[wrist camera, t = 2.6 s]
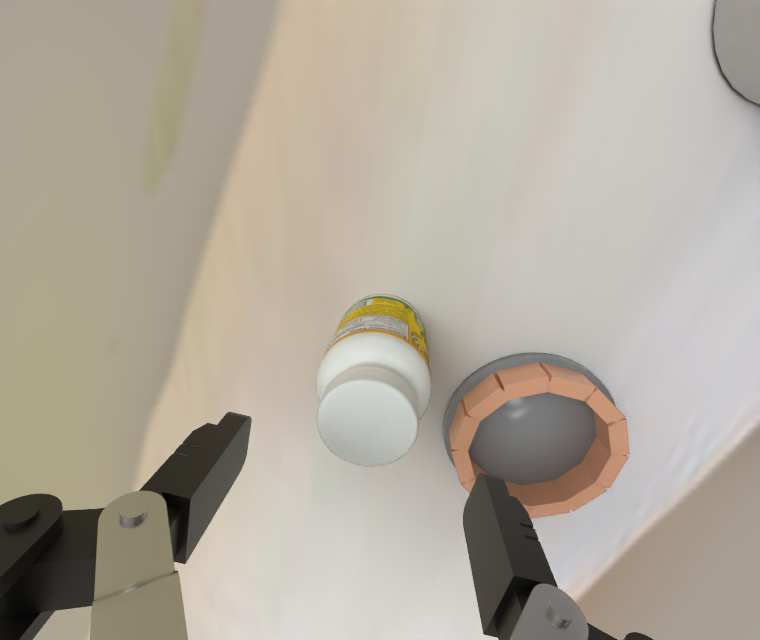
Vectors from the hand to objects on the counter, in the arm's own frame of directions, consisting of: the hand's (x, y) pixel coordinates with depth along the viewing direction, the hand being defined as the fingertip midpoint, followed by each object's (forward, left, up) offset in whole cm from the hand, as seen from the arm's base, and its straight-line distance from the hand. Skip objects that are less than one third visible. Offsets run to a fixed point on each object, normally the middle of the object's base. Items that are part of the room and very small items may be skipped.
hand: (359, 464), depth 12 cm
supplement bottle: (0, 0, -12) cm, 12 cm away
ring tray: (+4, +11, -11) cm, 16 cm away
